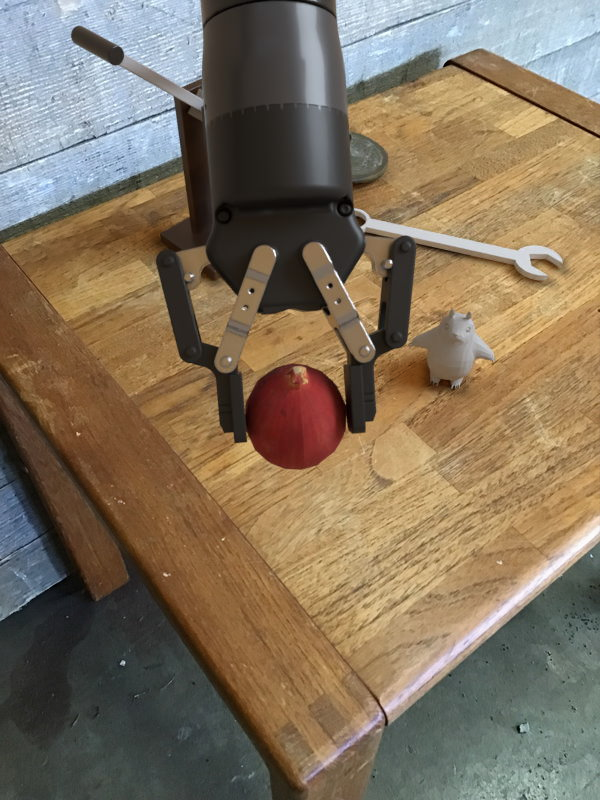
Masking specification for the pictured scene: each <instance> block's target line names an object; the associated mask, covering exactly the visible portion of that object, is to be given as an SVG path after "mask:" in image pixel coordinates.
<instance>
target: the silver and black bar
mask: <svg viewBox="0 0 600 800" xmlns="http://www.w3.org/2000/svg"><path fill="white" fill-rule="evenodd" d="M70 38H71V41H72V43H73V44H74V45H76V46H77V47H80V48H81V49H83V50H84V51H87V52H88V53H90V54H92V55H94V56H96V57H97V58H99V59H101V60H103V61H104V62H106V63H108V64H110V65H112V66H113V67H114V66H115V67H116V66H119V67H121V68H122V69H124V70H126V71H128V72H130V73H131V74H133V75H135V76H137V77H138V78H140V79H142V80H144V81H146V82H147V83H149V84H151V85H153V86H154V87H156V88H158V89H160V90H162V91H163V92H165V93H167V94H169V95H170V96H172V97H173V96H174V97H176V98H177V99H179V100H181V101H183V102H185V103H186V104H188V105H190V106H191V107H190V109H189V112H188V114H190V115H192V116H193V117H195V118H197V119H199V120H200V121H202V122H203V120H202V110H201V107H202V106H203V105H204V104H203V91H202V90H200V89H199V90H198V92H197V94H196V95H194V94H192V93H191V92H189V91H187V90H186V89H184V88H182V87H183V86H180V85H179V84H177V83H176V82H174V81H172V80H171V79H169V78H167V77H165V76H163V74H160V73H159V72H157V71H155V70H153V69H152V68H150V67H149V66H147V65H145V64H143V63H142V62H140V61H138V60H136V59H135V58H134V57H131V56H130V55H128V54H126V53H125V52H124V49H123V48H122V47H121V46H119V45H118V44H116V43H115V42H112V41H110V39H109V40H108V39H107V38H105V37H103V36H101V35H99V34H97V33H95V32H94V31H92V30H90V29H88V28H86V27H85V26H83V25H75V26H74V27H73V29H71V32H70ZM174 97H173V98H174Z"/></svg>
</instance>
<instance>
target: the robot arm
mask: <svg viewBox="0 0 600 800" xmlns="http://www.w3.org/2000/svg"><path fill="white" fill-rule="evenodd" d="M199 4H200V14H201V15H200V16H201V25H202V26H201V27H202V58H201V78H202V91H203V104H204V105H203V117H204V121H205V128H206V141H207V153H208V165H209V178H210V190H211V202H212V215H213V227H212V231H211V234H210V236H209V238H208V240H207V243H206V245H205V246H201V247H196V248H192V249H188V250H183V251H179V252H174V251H173V250H171V249H170V248H167V249H163V250H161V251H160V252H158V254H157V255H156V257H155V265H156V269H157V272H158V273H157V274H158V276H159V280H160V285H161V288H162V292H163V297H164V300H165V305H166V309H167V312H168V317H169V321H170V324H171V328H172V333H173V337H174V340H175V344H176V349H177V352H178V356H179V358H180V359H181V361H183V362H184V363H186V364H192V365H195V366H198V367H202V368H206V369H208V370H210V371H211V373H212V374H213V376H214V378H215V384H216V397H217V409H218V418H219V419H218V421H219V426H220V428H221V430H222V432H223V434H231V433H233V443H234V444H242V443H248V437H247V436H248V434H247V432H246V420H245V397H244V395H245V394H244V384H243V372H242V371H239V365H238V364H239V361H240V359H241V355H242V353H243V349H244V347H245V344H246V342H247V340H248V339H247V338H248V337H249V335H250V331H251V329H252V326H253V324H254V321H255V318H256V315H257V314H259V315H261V316H267V315H277V314H279V313H282V312H285V311H288V310H290V311H297V312H301V313H308V312H309V313H310V312H320V311H321V312H322V313H323V315H324V317H325V320H326V321H327V323H328V324H329V326H330V327H331V329H332V330H333V332H334V333H335V335H336V337H337V339H338V342H339V344H341V347H342V348H343V350H344V352H345V354H346V363H345V364H342V368H343V385H344V398H345V400H344V401H345V404H346V428H347V430H348V432H350V433H351V434H352V435H354V434H365V433H366V432H367V431H366V430H367V429H366V427H367V425H366V422H367V423H369V422H374V420H375V417H376V414H377V401H376V400H377V399H376V383H375V363H376V361H377V359H379V358H380V357H381V356H382V355H384V354H387V353H388V352H391V351H394V350H398V349H401V348H403V347H404V346H405V345H407V342H408V338H409V329H410V317H411V309H412V300H413V299H412V298H413V289H414V288H413V287H414V279H415V278H414V277H415V269H416V268H415V267H416V257H417V243H416V242H415V240H414V239H413V238H412V237H410V236H407V235H404V236H401V237H398V238H391V237H385V236H374V235H366V234H365V232H363V230H362V228H361V225H360V224H359V221H358V219H357V216H356V215H355V212H354V208H355V203H354V200H355V199H354V186H353V184H354V183H352V169H351V153H350V136H349V131H350V122H349V108H348V107H349V105H348V91H347V90H348V89H347V76H346V64H345V60H344V54H343V53H344V52H343V49H342V44H341V40H340V39H341V38H340V34H339V25H338V13H337V12H338V11H337V0H199ZM362 256H365V257H366V258H367V259H368V260H369V261H370V265H371V271H372V273H373V275H374V276H375V277H377V278H381V287H380V298H379V308H378V318H377V329H376V330H375V331H372V332H370V333H368V331H367V330H366V328H365V326H364V324H363V323H362V321H361V318H360V315H359V312H358V310H357V308H356V306H355V304H354V302H353V301H352V299H351V296H350V295H349V293H348V291H347V289H346V287H345V284H346V283H347V280H348V279H349V277H350V276H351V274H352V273H353V271H354V269H355V268H356V266H357V265H358V263H359V261H360V260H361V258H362ZM209 264H211V266H212V267H213V268H214V269H215V270H216V272H217V273H218V274H219V275H220V276H221V277H220V278H221V279H222V280H223V282H225V284H226V286H228V287H229V289H230V290H231V291H232V292H233V293H234V294H235V295H236V299H235V302H234V304H233V308H232V310H231V313H230V316H229V318H228V321H227V323H226V327H225V330H224V332H223V335H222V338H221V340H220V343H219V346H217V345H213V344H210V343H206V342H203V340H202V337H201V332H200V329H199V324H198V320H197V315H196V312H195V308H194V303H193V300H192V296H191V292H192V291H195V290H197V289H199V287H200V285H201V283H202V272H203V271H202V269H203V268H204V267H205V266H206V265H209ZM245 308H246V309H245Z"/></svg>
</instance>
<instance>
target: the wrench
mask: <svg viewBox="0 0 600 800" xmlns="http://www.w3.org/2000/svg"><path fill="white" fill-rule="evenodd" d="M354 212H355V216H356V217H359V218H361V219H363V220H364V221H365V223H364V224H363V225H360V227H361V228H362V230H363V232H364V233H369V234H374V235H377V236H381V237H385V238H394V239H395V238H398V237H401V236H404V235H407V236H410V237H412V238H413V239H414V240H415V242H416V244H417V245H423V246H426V247H427V246H428V247H432V248H436V249H441V250H446V251H450V252H455V253H459V254H464V255H467V256H472V257H476V258H481V259H486V260H490V261H495V262H499V263H504V264H509V265H513V266H514V268H515V270H516V271H517V272H518V273H519V274H520V275H522V276H524V277H526V278H528V279H530V280H535V281H547V280H548V276H549V275H548V274H546V273H545V272H543V271H541V270H540V269H538V268H536V267H535V266H533V265H532V262H531V260H546V261H548V262H550V263H552V264H553V265H555V266H557V267H559V268H560V269H562V267H563V264H564V261H563V259H562V256H560V254H559V253H558V252H556V251H555V250H553V249H552V248H549V247H547V246H543V245H539V244H538V245H535V244H534V245H533V244H531V245H526V246H523V247H521V248H519V249H518V250H517V249H512V248H509V247H503V246H499V245H494V244H489V243H485V242H480V241H476V240H471V239H467V238H463V237H459V236H458V237H457V236H453V235H449V234H444V233H439V232H434V231H431V230H426V229H421V228H417V227H412V226H407V225H402V224H399V223H395V222H394V223H393V222H390V221H384V220H380V219H376V218H371V217H370V214H368V212H366V211H365V210H362V209H360V208H356V207H354Z"/></svg>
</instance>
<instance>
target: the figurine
mask: <svg viewBox="0 0 600 800" xmlns="http://www.w3.org/2000/svg"><path fill="white" fill-rule="evenodd" d="M448 312H449V313H448V314H446V315H445V316H444V317H442V319H440V322H439V324H438V325H437V326H435V327H433V328H431V329H429V330H427V331H425V332H421V333H420V334H418V335H416V336H415V337H413V338H412V340H411V342H409V343H407V346H408V347H407V349H408V350H409V349H410V348H412V347H414V348H419V349H420V348H421V349H425V350H427V351H426V352H427V353H426V362H427V367H428V369H429V377H430V379H429V380H430V381H429V383H430V384H431V383H432V385H433V386H434V385H435V383H436V386H438V385H439V383H440V381H441V380H446V381H450V385H451V388H450V389H451V390H453V387H454V389H455V390H456V389H457V387H458V389H460V387H461V384H462V382H463V380H464V377H466V376H467V375H468V374H469V373H470V372H471V370H472V369H473V366H474V363H475V361H476V359H480V360H481V359H482V360H486V361H491V363H493V364H495V362H497V358H495V353H494V351H493V349H491V348H490V346H489V345H488V344H487V343H486V342H485V341H484V340H483V339H482V338H481V337H480V336H479V334H478V333H476V326H475V322H474V320H473V319H472V312H471V311H468V312H467V313H466V314H465V313H462V312H455V309H454V308H451V309H450V310H449V311H448Z"/></svg>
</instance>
